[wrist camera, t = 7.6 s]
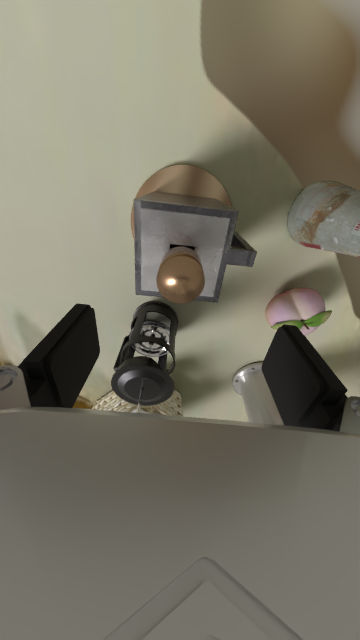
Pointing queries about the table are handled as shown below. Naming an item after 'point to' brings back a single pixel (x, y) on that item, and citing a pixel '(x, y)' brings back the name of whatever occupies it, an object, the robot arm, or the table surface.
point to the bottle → (327, 218)
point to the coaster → (183, 184)
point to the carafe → (186, 238)
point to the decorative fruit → (297, 310)
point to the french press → (146, 358)
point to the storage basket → (117, 404)
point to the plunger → (180, 274)
